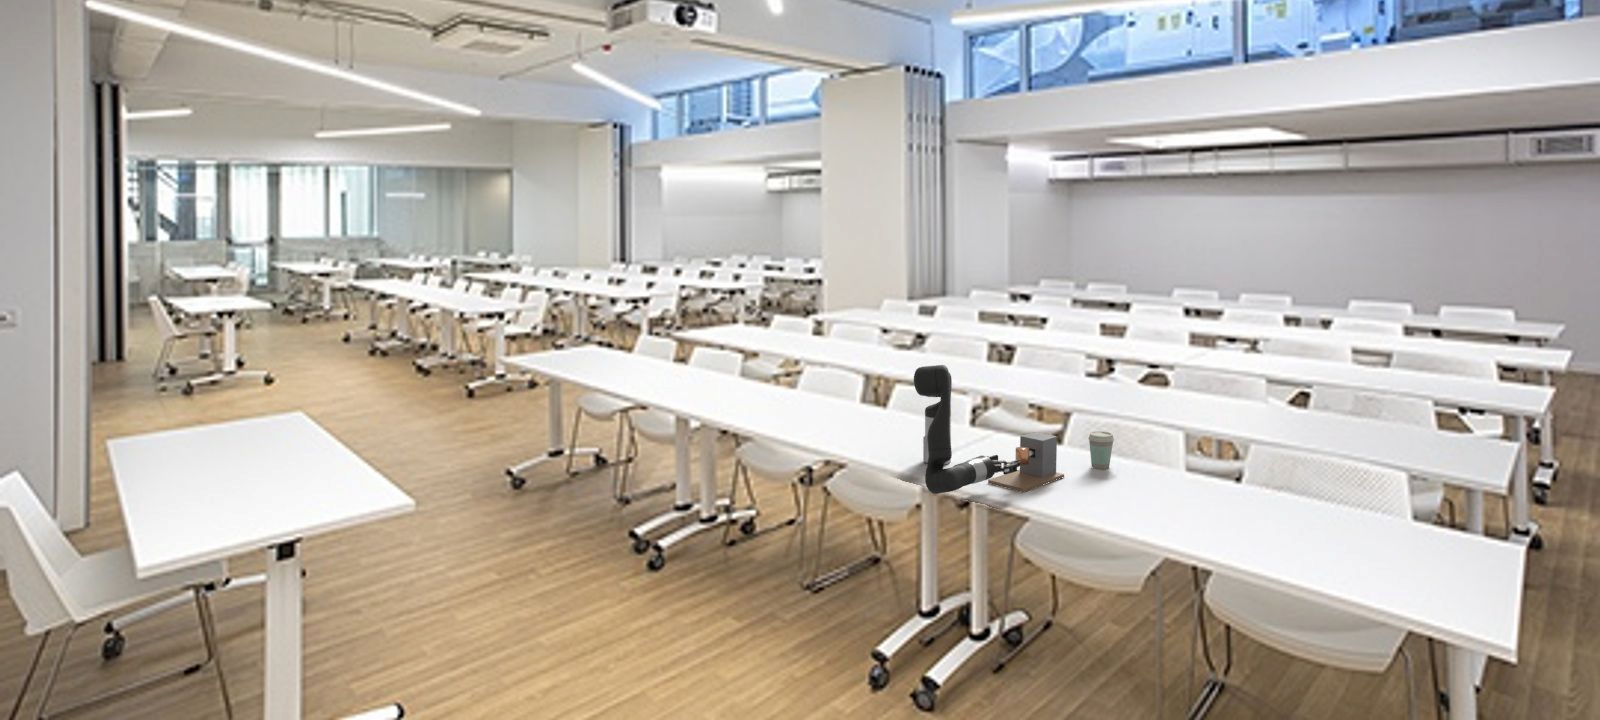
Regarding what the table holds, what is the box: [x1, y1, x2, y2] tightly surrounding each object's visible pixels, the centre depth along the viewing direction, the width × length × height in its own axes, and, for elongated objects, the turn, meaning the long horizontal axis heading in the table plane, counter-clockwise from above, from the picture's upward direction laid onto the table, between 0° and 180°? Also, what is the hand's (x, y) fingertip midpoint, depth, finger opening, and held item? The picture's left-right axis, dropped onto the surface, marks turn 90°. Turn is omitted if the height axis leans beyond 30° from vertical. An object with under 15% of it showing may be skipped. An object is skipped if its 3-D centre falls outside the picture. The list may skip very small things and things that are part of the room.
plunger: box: [1015, 446, 1035, 465], centre depth 304 cm, size 14×4×5 cm, turn 130°
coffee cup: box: [1088, 430, 1115, 470], centre depth 316 cm, size 8×9×12 cm
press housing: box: [987, 431, 1065, 493], centre depth 302 cm, size 23×14×14 cm, turn 130°
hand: (1007, 460), depth 295 cm, fingers open, 8 cm apart
